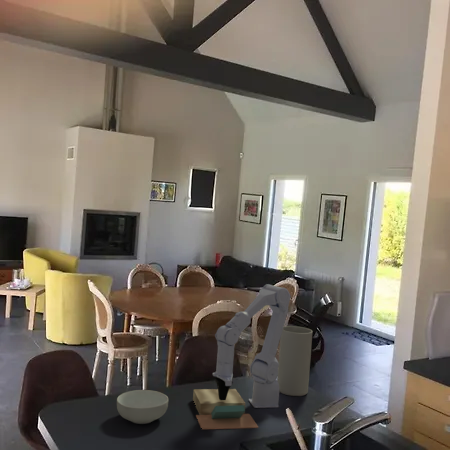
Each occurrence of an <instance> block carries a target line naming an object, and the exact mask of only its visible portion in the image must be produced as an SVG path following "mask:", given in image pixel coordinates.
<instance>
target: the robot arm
mask: <svg viewBox="0 0 450 450" xmlns="http://www.w3.org/2000/svg"><path fill="white" fill-rule="evenodd" d="M290 293H291V292H289V290H288V289H287V288H286V287H280V286H277V285H276V286H275V285H272V284H269V283H268V284H267V283H266V284H265V285H263V287H261V288H260V289H259V292H258V294H257V296H255V298H254V299H253V301H252V302H251V303H250V304H249V305H248V306H247V308H246V309H244V310H243V311H237V312H236V313H235V314H234V316H233V317H232V318H231V319H230V320H229V321H228V322H226V324H225V325H221V326H220V327H218V328H217V330H216V333H215V334H214V337H215V340H216V343H217V344H216V345H217V355H216V357H217V358H216V367H215V368H216V371H215V372H212V376H213V377H215V378H214V380H215V384H216V387H217V388H216V389H218V395H219V399H220V400H226V397H227V394H228V391H229V389H231V386H232V385H233V383H234V382H233V376H234V374H233V372H234V356H235V344H237V343H238V341H239V338H240V336H241V334H242V332H243V331H245V329H246V328H247V327H249V325H250V324H251V322H252V321H251V319H252V318H253V317H254V316H256V314H257V313H259V312H260V311H261V310H262V309H264V308H265V306H269V307H270V309H271V311H272V313H271V315H270V316H271V317H270V318H269V319H270V320H269V323H268V327H267V329H266V330H267V331H266V333H265V338H264V340H263V345H262V348H261V351H260V352H259V353H257V354H256V355H254V358H253V361H252V363H250V367H249V372H250V374H251V375H252V379H253V383H252V394H251V395H252V396H251V397H252V398H248V402H249V403H250V404H251V406H252V407H253V408H255V409H256V408H257V409H259V408H260V409H261V408H262V409H264V408H265V409H267V408H280V405H279V403H280V402H279V401H280V400H279V399H280V392H279V383H278V381H277V378H278V366H279V360H278V359H277V358H276V356H277V351H278V347H279V346H280V338H281V334H282V331H283V327H285V324H286V319H287V316H288V313H289V304H290V301H291V299H292V295H291V294H290Z"/></svg>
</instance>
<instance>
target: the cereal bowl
mask: <svg viewBox="0 0 450 450" xmlns="http://www.w3.org/2000/svg"><path fill="white" fill-rule="evenodd" d="M168 407H169V397H168V396H167V395H166V394H164V393H163V392H160V391H156V390H148V389H136V390H129V391H125V392H123V393H121V394H120V395H118V397H117V398H116V409H117V411H118V414H119V415H120V417H122V418H123V419H125V420H128V421H130V422H132V423H134V424H137V425H138V424H139V425H144V424H150V423H151V422H152V423H153V422H154V421H156V420H158V419H160V418H161V417H162V416H164V415H165V413H166V412H167V410H168Z"/></svg>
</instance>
